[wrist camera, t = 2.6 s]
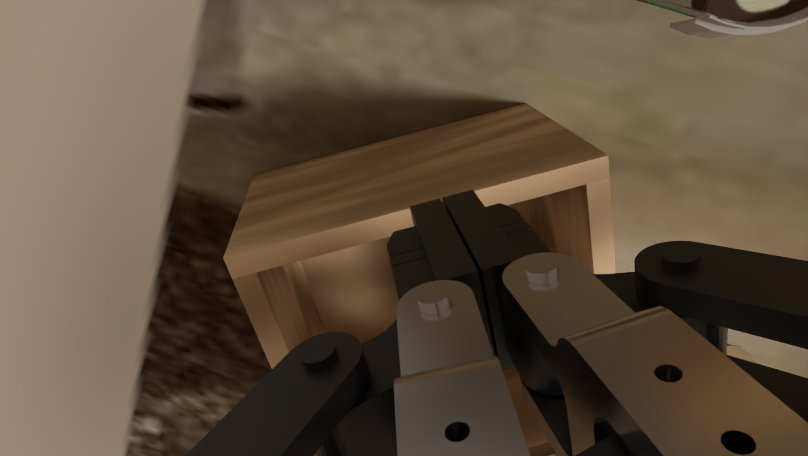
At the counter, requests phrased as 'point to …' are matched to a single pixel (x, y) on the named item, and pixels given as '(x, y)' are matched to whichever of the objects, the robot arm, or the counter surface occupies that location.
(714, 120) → the counter surface
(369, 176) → the wooden box
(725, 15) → the food container
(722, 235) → the counter surface
